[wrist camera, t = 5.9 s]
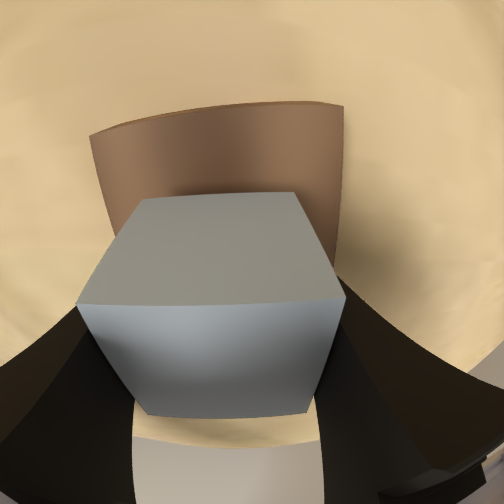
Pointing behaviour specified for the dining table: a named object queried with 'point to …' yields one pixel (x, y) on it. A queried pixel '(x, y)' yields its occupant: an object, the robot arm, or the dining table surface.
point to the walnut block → (228, 158)
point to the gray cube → (216, 306)
